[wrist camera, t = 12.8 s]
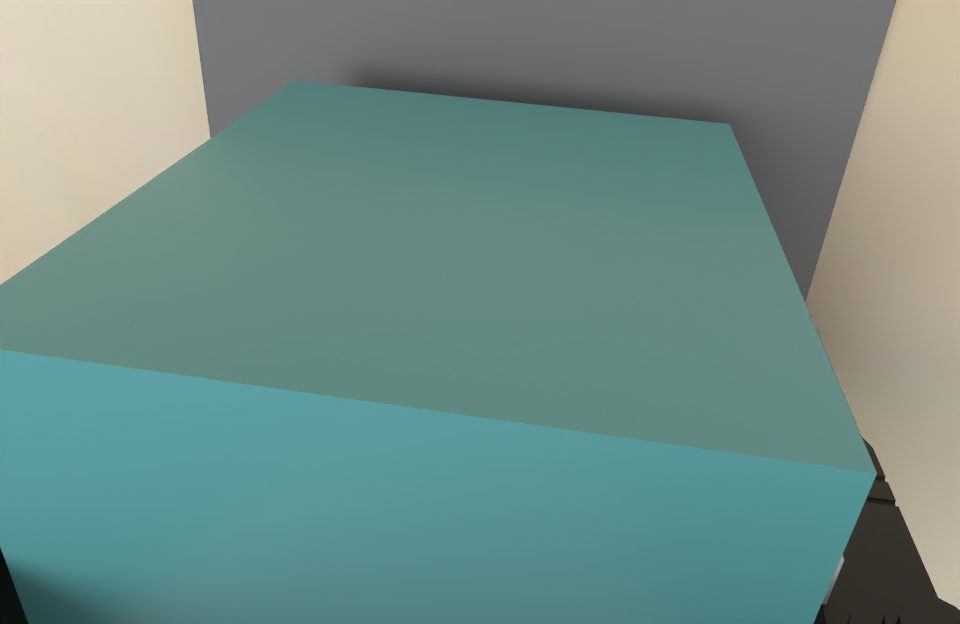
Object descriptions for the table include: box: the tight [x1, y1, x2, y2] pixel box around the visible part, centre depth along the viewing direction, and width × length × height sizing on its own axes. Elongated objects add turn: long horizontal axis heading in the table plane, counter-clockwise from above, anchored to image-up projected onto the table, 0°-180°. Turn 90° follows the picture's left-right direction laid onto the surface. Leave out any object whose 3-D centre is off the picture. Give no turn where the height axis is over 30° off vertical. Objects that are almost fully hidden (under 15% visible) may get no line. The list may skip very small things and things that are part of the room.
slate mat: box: [193, 0, 896, 301], centre depth 16 cm, size 12×12×1 cm
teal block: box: [0, 80, 877, 624], centre depth 11 cm, size 7×7×8 cm
